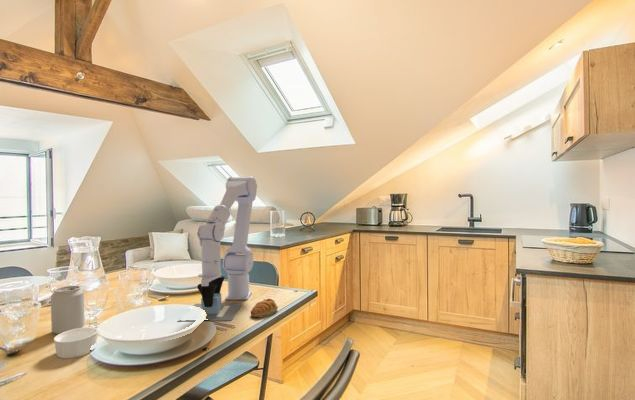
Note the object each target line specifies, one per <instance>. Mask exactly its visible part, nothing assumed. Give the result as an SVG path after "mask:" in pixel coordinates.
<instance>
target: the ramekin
mask: <svg viewBox="0 0 635 400" xmlns="http://www.w3.org/2000/svg"><path fill="white" fill-rule="evenodd" d="M98 332H99V329H98V328H96V327H94V326H93V327H92V326H91V327H90V326H89V327H86V326H83V327H82V328H77V329H72V330H69V331H66V332H63V333H61V334H59V335H57V334H56V335H55V336H54V338H53V342H54V346H55V353H56V357H58V358H60V359H75V358H79V357H82V356H85V355H88V354H90V353H91V352H90V348H91V346H92V345H94V344H95V343H96V344H97V342H96V341H97V340H98V339H97V336H98Z"/></svg>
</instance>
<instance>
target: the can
mask: <svg viewBox="0 0 635 400" xmlns="http://www.w3.org/2000/svg"><path fill="white" fill-rule="evenodd" d="M81 288H82V287H81V286H80V285H68V286H67V285H66V286H61V287H58V288H55V289H53V293H52V294H51V295H50V319H51V320H50V321H51V324H50V325H51V332H52V333H55V335H56V336H57V335H59V334H61V333H63V332H66V331H69V330H72V329H77V328H84V327H85V294H84V293H85V292H84V291H83V290H82V289H81Z"/></svg>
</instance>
